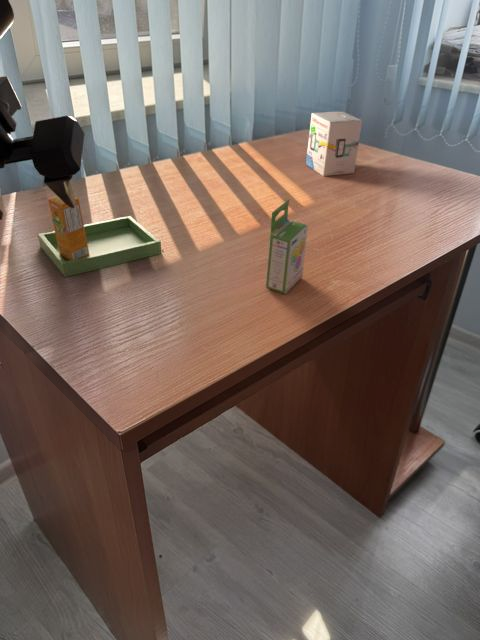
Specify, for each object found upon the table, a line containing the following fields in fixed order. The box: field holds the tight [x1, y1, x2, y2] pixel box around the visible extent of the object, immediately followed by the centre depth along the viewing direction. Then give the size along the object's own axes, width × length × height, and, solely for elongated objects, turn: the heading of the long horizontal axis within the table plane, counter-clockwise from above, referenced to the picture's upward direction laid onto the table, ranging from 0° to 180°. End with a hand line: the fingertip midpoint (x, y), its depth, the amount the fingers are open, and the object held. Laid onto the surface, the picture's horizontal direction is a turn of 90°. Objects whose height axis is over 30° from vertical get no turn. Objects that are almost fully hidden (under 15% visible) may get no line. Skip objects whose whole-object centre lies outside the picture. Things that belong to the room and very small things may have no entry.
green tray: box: [37, 215, 162, 278], centre depth 82 cm, size 15×11×2 cm
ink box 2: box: [305, 110, 363, 177], centre depth 118 cm, size 8×8×12 cm
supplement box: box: [47, 195, 90, 261], centre depth 74 cm, size 3×3×10 cm
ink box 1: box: [265, 199, 309, 295], centre depth 74 cm, size 6×4×12 cm, turn 153°
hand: (37, 210), depth 62 cm, fingers open, 9 cm apart
